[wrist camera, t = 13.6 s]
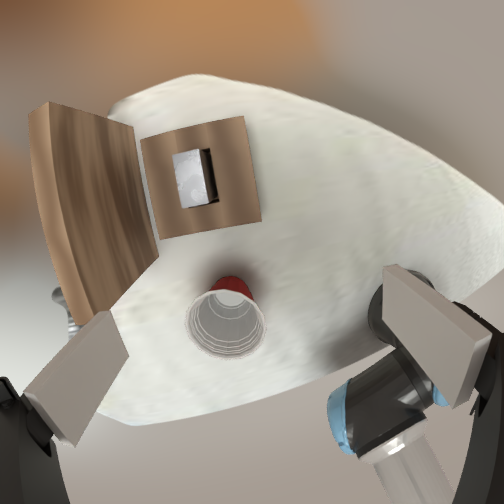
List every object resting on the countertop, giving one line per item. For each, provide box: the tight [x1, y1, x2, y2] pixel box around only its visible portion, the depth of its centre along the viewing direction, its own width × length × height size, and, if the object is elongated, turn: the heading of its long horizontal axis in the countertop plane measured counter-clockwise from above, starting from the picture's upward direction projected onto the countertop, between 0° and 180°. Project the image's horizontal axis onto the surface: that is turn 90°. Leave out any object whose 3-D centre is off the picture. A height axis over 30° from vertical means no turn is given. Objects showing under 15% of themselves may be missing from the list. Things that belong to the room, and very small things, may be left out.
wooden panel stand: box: [28, 102, 262, 325], centre depth 30 cm, size 20×22×22 cm
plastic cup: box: [185, 276, 267, 360], centre depth 40 cm, size 11×11×12 cm
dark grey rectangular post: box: [172, 149, 218, 209], centre depth 34 cm, size 3×6×12 cm, turn 9°
